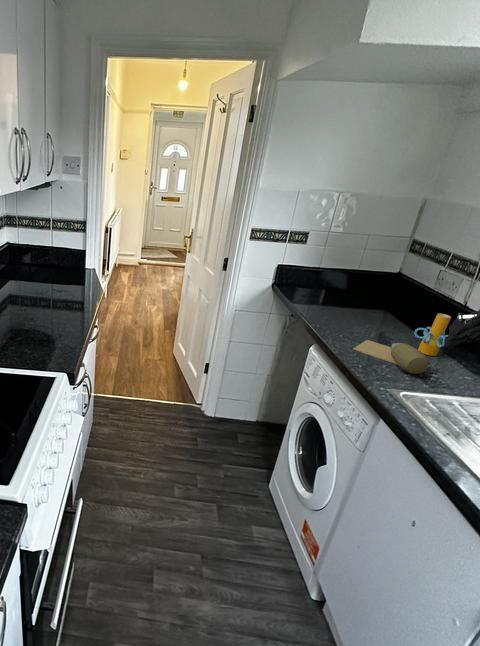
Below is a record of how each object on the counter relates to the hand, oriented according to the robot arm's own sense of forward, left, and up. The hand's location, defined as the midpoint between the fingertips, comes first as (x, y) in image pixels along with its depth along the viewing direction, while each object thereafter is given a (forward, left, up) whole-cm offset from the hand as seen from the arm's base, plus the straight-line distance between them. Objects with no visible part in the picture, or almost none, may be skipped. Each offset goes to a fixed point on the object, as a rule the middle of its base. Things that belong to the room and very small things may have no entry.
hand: (447, 343), depth 121 cm
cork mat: (+17, -20, -16) cm, 30 cm away
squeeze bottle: (+5, -7, -12) cm, 14 cm away
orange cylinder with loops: (+8, -35, -16) cm, 39 cm away
